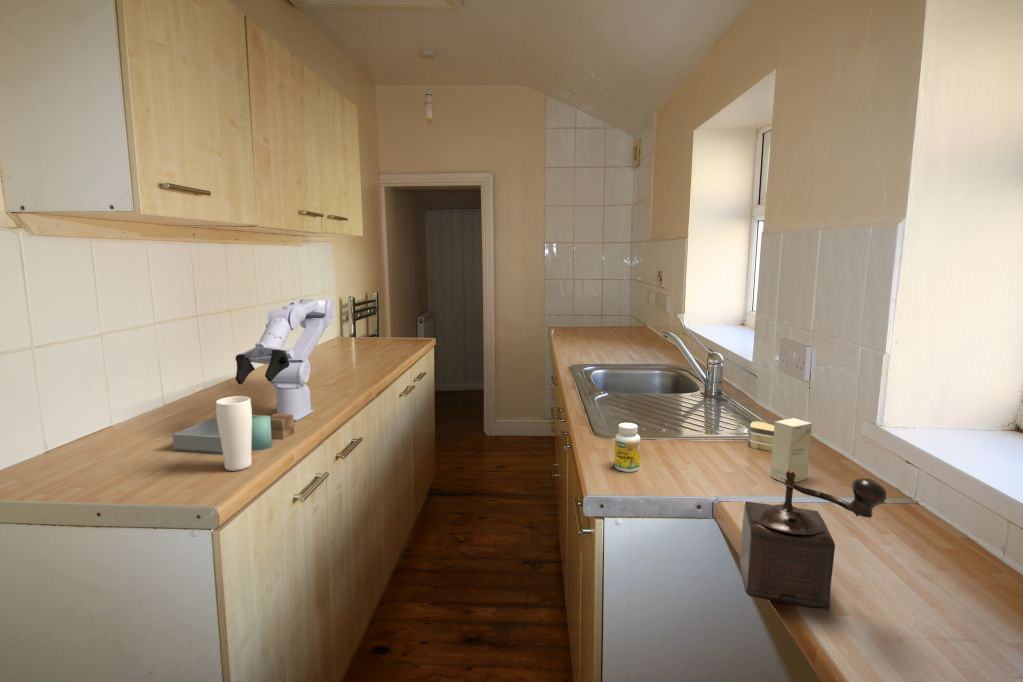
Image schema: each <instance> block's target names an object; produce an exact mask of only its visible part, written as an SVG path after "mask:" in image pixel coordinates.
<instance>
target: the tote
mask: <svg viewBox="0 0 1023 682" xmlns="http://www.w3.org/2000/svg"><path fill="white" fill-rule="evenodd" d="M260 415H261V414H252V417H253V416H260ZM172 443H173V444H172V445H173V451H175V452H186V453H187V452H188V453H199V454H200V453H202V454H215V455H216V454H217V455H223V451H222V446H221V440H220V435H219V430H218V424H217V417H216V415H214V416H212V417H210V418H208V419H206V420H204V421H201V422H198V423H195V424H194V425H192V426H189V427H187V428H185V429H182V430H179V431H177V432H175V433H173V434H172Z"/></svg>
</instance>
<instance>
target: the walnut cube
mask: <svg viewBox="0 0 1023 682" xmlns="http://www.w3.org/2000/svg"><path fill="white" fill-rule="evenodd" d="M269 416H270V422H271V437H272V440H282V441H283V440H285V439H287V438H289V437H290V436H293V435H294V434H295V424H294V421H293V415H289V414H277V413H274V414H272V415H269Z"/></svg>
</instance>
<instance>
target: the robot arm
mask: <svg viewBox="0 0 1023 682" xmlns="http://www.w3.org/2000/svg"><path fill="white" fill-rule="evenodd" d="M335 310H336V308H335V303H334V301H333V299H332V298H328V299H325V298H324V299H322V298H321V299H318V298H317V299H312V298H308V299H307V298H302V299H299V303H298V302H297V301H290V302H289V304H288V305H284V306H282V308H279V309H278V308H274V309H273V310H271V311H268V314H267V321H266V323H265V329H264V331H263V334H262V336H261V337H260V339H259V341H258V342H256V343H255V344H254V346H255V347H253V348H251V349H249V350H247V351H244V352H242V353H238V354H236V356H235V361H236V373H235V381H236V382H237V384H238V385H243V384H244V382H245V381H246V380H247V378H248V376H249V375H250V374H251V373H252V372H253V371H255V369H256V368H255V367H254V366H253V364H252V363H255V364H260V365H261V364H263V365H268V366H267V368H266V371H265V375H264V376H265V379H267V381H268V382H269V383H270V385H272V387H273V388H275V397H276V398H275V399H276V412H277V413H276V414H289V415H293V421H295V422H297V421H299V420H301V419H303V418H304V417H306V416H308V415H310V414H312V413H313V412H315V411H314V409H312V404H311V390H310V388H309V386H308V385H307V383H308V381H309V380H310V374H311V371H312V369H311V363H310V361H309V358H310V356H311V355H312V353H313V351H314V350H315V348H316V346H317V344H318V343H319V341H320V339H321V337H322V336H323V334H324V331H325V329H326V328H328V327H330V325H331V324H332V321H333V319H334V318H335ZM299 325H300V327H302V328H303V329H304V330H303V331H302V332H301V334H300V336H299V337H298V339H297V341H295V343H294V345H293V347H292V348H291V347H289V348H285V347H284V346H285V343H286V341H287V339H288V337H289V335H290V333H291V331H296V330H297V329H298V327H299Z"/></svg>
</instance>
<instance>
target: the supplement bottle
mask: <svg viewBox="0 0 1023 682" xmlns="http://www.w3.org/2000/svg"><path fill="white" fill-rule="evenodd" d="M638 427H639V426H638V425H637V424H636V423H632V422H621V423H619V424H618V432H617V434H615V438H614V439H615V440H614V467H615V469H617V470H618V471H620V472H626V473H631V472H637V471H638V470H639V469H640V463H641V462H640V461H641V436H640V435H639V434H638Z"/></svg>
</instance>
